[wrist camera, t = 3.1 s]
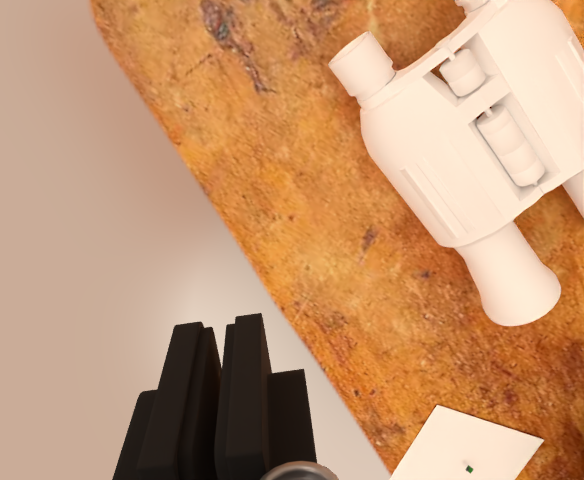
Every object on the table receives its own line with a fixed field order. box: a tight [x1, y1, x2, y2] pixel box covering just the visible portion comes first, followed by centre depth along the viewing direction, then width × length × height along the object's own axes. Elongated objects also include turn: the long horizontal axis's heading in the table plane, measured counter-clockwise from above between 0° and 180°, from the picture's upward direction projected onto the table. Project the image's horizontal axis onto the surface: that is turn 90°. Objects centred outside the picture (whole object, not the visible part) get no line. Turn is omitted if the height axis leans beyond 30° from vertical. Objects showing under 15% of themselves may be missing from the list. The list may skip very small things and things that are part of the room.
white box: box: [389, 405, 544, 480], centre depth 35 cm, size 8×8×1 cm
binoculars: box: [328, 0, 584, 326], centre depth 25 cm, size 10×16×5 cm, turn 39°
